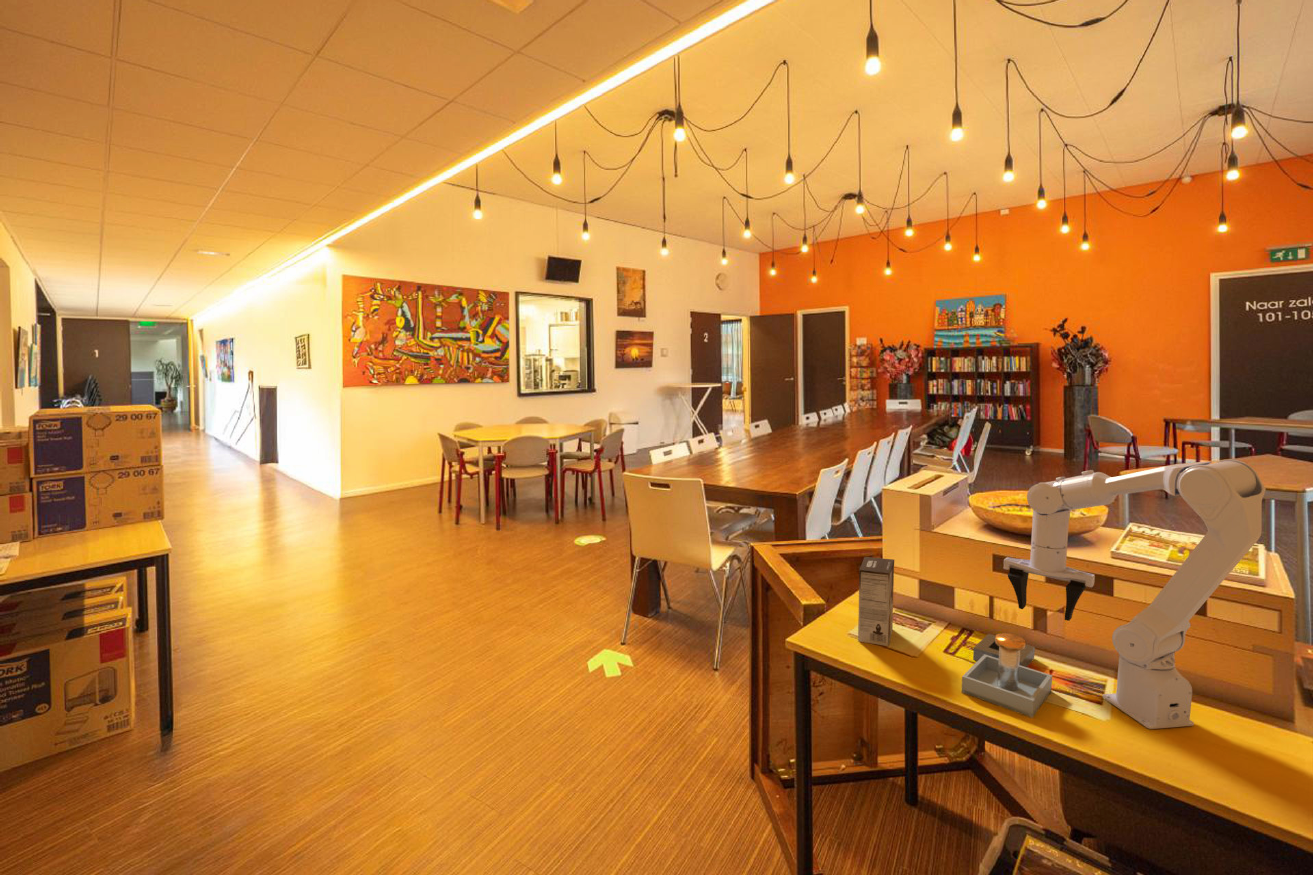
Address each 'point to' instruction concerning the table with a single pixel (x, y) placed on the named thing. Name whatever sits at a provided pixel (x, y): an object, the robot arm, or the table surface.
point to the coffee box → (876, 600)
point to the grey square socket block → (992, 649)
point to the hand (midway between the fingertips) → (1044, 612)
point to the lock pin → (1009, 660)
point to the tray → (1024, 700)
